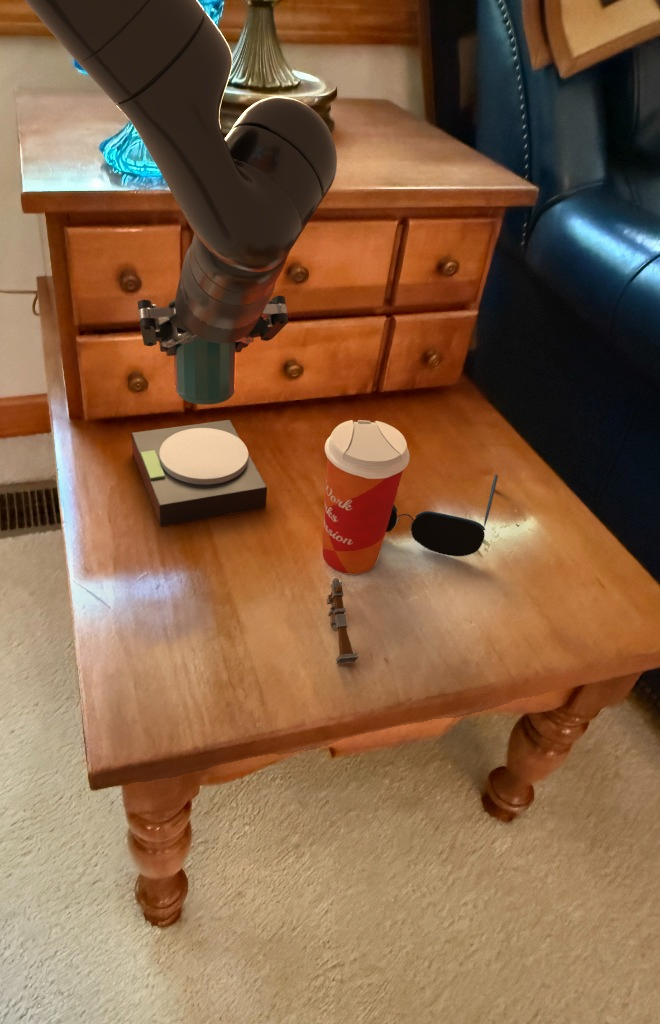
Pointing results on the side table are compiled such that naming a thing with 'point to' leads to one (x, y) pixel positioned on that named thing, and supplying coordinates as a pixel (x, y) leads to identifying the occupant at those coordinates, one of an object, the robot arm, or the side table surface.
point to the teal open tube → (205, 371)
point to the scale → (197, 472)
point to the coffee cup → (360, 492)
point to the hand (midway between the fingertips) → (202, 344)
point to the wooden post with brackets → (340, 623)
